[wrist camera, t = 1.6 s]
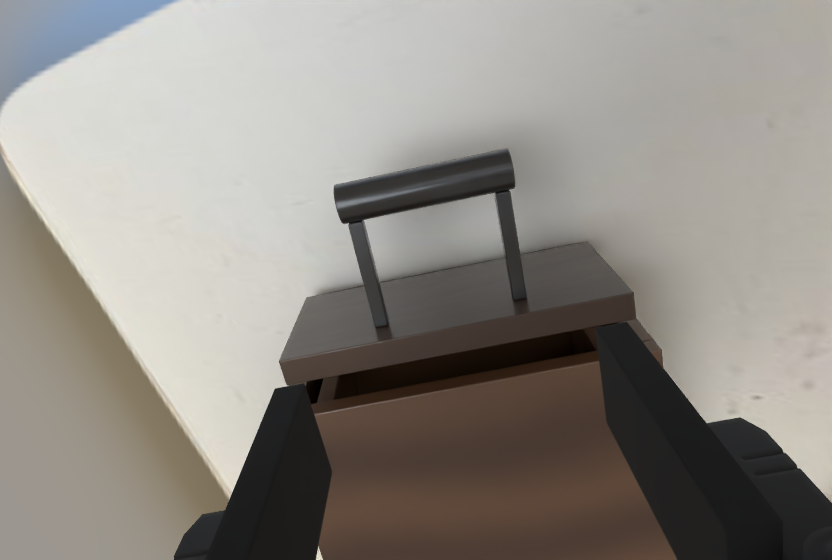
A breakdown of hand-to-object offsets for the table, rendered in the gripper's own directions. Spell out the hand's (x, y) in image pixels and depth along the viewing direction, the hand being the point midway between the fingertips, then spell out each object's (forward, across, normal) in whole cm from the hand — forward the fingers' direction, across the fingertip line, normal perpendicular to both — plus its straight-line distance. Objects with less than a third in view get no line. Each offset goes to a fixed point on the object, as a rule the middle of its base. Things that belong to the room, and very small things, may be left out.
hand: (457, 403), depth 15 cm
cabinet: (+17, 0, -13) cm, 21 cm away
